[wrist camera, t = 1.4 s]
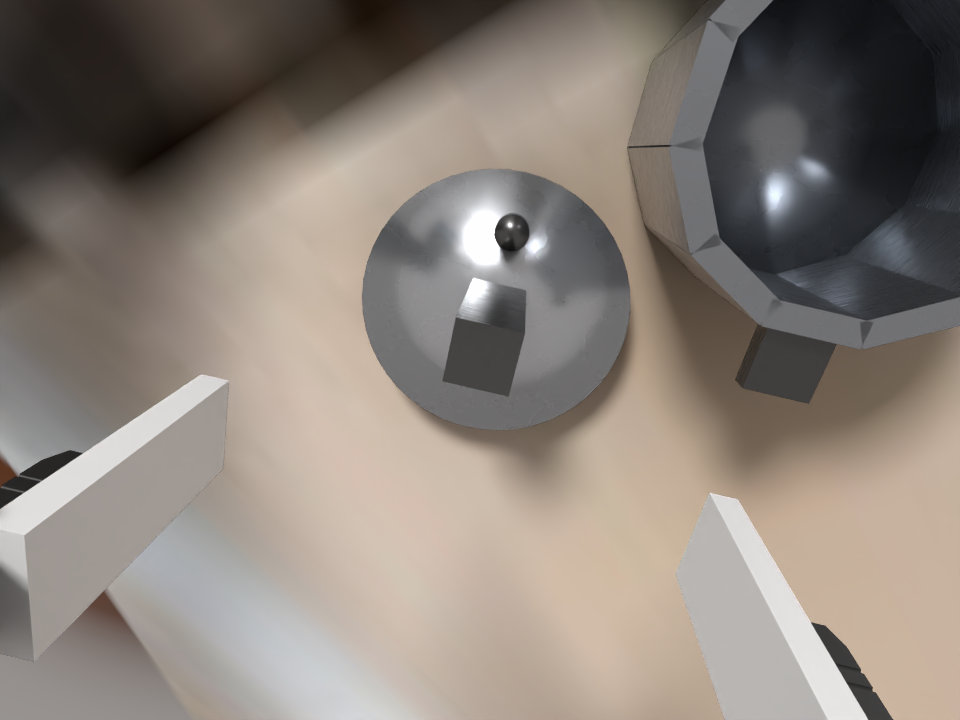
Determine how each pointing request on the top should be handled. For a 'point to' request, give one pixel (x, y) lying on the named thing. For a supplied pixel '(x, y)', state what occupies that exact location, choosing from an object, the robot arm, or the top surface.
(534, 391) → the lid
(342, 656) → the top surface
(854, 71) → the cooker pot
